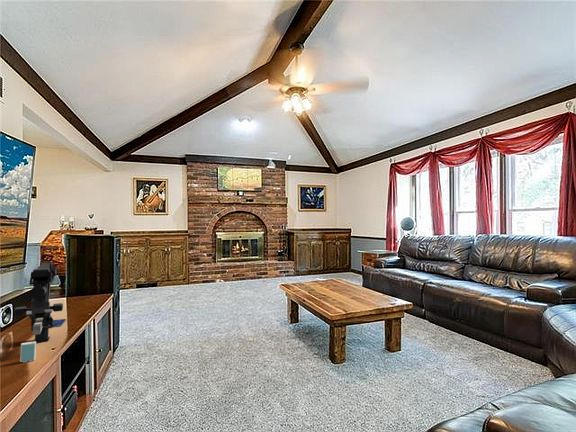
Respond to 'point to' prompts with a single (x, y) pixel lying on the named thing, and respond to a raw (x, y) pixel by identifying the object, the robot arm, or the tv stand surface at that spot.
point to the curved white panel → (37, 326)
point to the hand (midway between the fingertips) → (38, 326)
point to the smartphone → (59, 322)
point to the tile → (28, 351)
